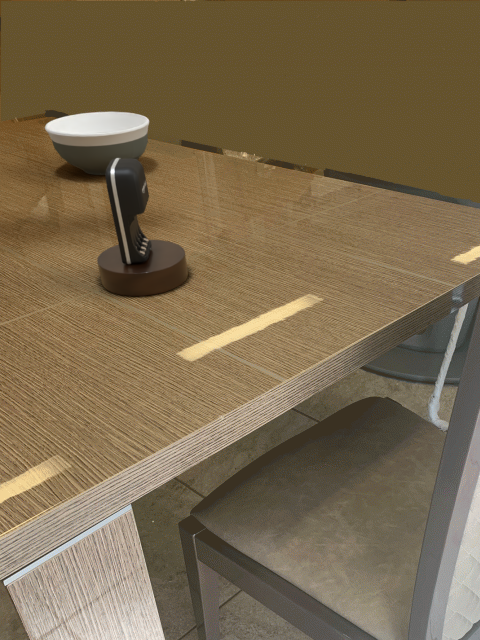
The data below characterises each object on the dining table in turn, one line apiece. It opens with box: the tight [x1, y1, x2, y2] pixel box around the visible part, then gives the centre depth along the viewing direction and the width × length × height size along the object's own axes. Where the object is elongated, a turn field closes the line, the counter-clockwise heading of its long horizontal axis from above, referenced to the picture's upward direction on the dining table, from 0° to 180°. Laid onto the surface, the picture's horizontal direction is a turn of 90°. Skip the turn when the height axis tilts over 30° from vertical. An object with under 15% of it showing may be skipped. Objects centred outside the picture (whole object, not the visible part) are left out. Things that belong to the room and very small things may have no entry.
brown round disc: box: [96, 239, 189, 297], centre depth 83 cm, size 11×11×3 cm
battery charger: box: [104, 158, 151, 264], centre depth 79 cm, size 7×4×11 cm, turn 6°
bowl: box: [44, 111, 150, 176], centre depth 121 cm, size 19×19×8 cm
